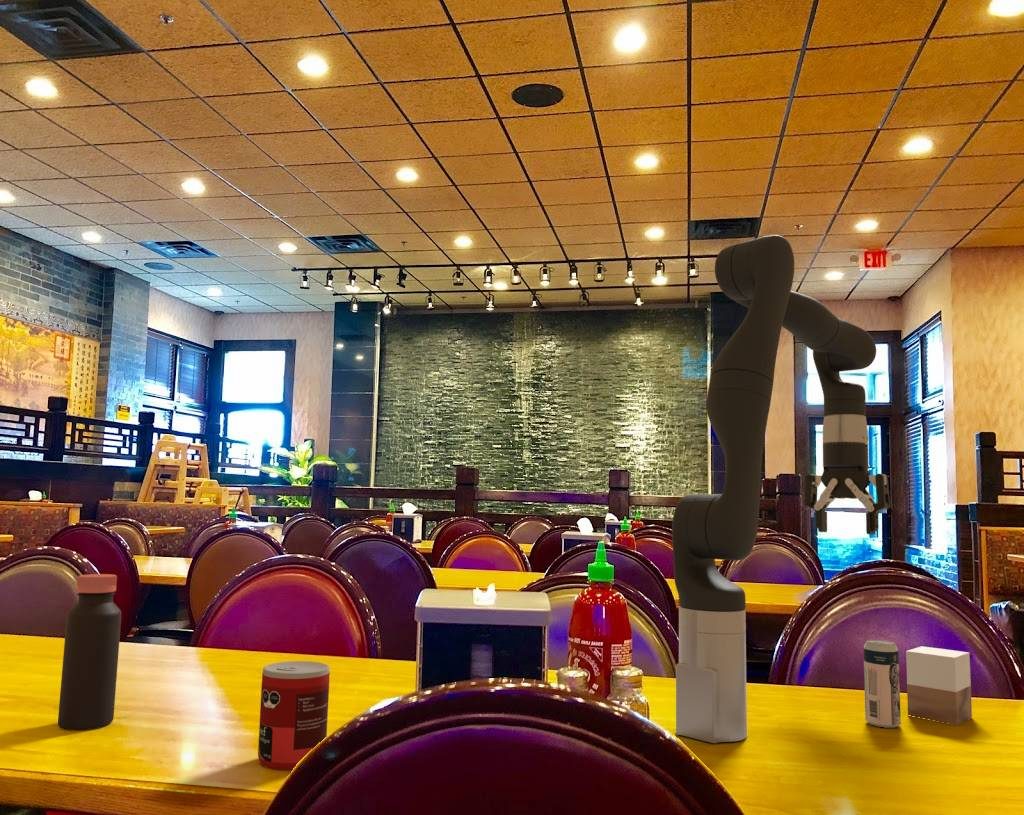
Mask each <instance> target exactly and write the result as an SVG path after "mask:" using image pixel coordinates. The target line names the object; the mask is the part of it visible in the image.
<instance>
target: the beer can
mask: <svg viewBox="0 0 1024 815" xmlns="http://www.w3.org/2000/svg"><path fill="white" fill-rule="evenodd" d="M899 652H900V651H899V648H898V646H897V644H896V643H895V642H894V641H891V640H884V639H868V640H866V641H865V643H864V645H863V674H864V675H863V680H864V681H863V682H864V718H865V721H866V722H867V723H868V724H870V725H871V726H873V725H874V726H873V727H876V726H877V728H880V727H884V728H883V729H895V728H897V727H898V726H900V725H901V724H902V723H901V722H902V720H901V719H902V718H901V717H902V716H901V694H900V693H901V690H900V688H901V687H900V686H901V685H900V684H901V683H900V658H899V656H900V655H899Z"/></svg>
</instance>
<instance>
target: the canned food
mask: <svg viewBox="0 0 1024 815" xmlns="http://www.w3.org/2000/svg"><path fill="white" fill-rule="evenodd" d="M262 669H263V670H262V673H261V674H262V676H261V688H260V689H261V690H260V706H259V707H260V708H259V709H260V710H259V726H258V730H259V731H258V745H257V746H258V748H257V749H258V751H257V758H258V762H259V764H260V766H262V767H264V768H267V769H269V768H270V770H276V771H293V770H292V769H293V768H294V767H295V766H296V764H297V763H298V762H299V761H300V760H301V759H302V758H303V757H304V756H305V755H306V754H307V753H308V752H309V751H310V750H311V749H313V748H314V747H315V746H316V745H317V744H318V743H319V742H321V741H322V740H323V739H324V738H325V737H327V736H328V735H327V733H328V717H329V716H328V715H329V713H328V712H329V696H330V674H331V673H330V665H328V664H327V663H323V662H319V661H318V662H317V661H310V660H309V661H308V660H307V661H306V660H289V661H281V662H280V661H279V662H275V663H274V662H273V663H270V664H267V665H265V666H263V668H262Z"/></svg>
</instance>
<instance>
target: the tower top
mask: <svg viewBox="0 0 1024 815" xmlns="http://www.w3.org/2000/svg"><path fill="white" fill-rule="evenodd" d="M905 658H906V659H905V661H906V685H907V684H910V685H916V686H922V687H928V688H934V689H940V690H946V691H952V692H958V691H960V690H962V689H964V688H966V687H969V686H971V687H972V685H971V681H972V680H971V661H970V658H971V657H970V652H968V651H967V652H966V651H961V650H953V649H947V648H946V649H945V648H939V647H938V648H937V647H929V646H925V645H923V646H922V645H921V646H918V647H915V648H912V649H909V650H906V651H905Z"/></svg>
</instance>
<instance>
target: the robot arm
mask: <svg viewBox="0 0 1024 815" xmlns="http://www.w3.org/2000/svg"><path fill="white" fill-rule="evenodd" d="M714 274H715V275H714V276H715V279H716V282H717V284H718V287H719V288H720V290H721V292H722V293H723V294H724V295H725V296H727V298H729V299H730V300H732V301H734V302H736V303H738V304H740V305H742V306H743V307H745V308H748V311H747V313H746V316H744V319H743V320H742V322H741V323H740V325H739V326H738V328H737V329H736V331H735V332H734V333H733V334H732V335H731V337H730V338H729V340H728V341H727V342H726V344H725V345H724V346H723V348H722V349H721V350H720V352H719V354H718V355H717V357H716V359H715V360H714V361H713V362H714V363H713V365H712V368H711V371H710V372H711V373H710V379H709V382H708V383H709V384H708V388H707V389H708V390H707V396H706V402H705V407H706V408H705V409H706V413H707V417H708V420H709V423H710V424H711V425H710V426H711V427H712V430H713V432H714V434H715V436H716V439H717V440H718V443H719V445H720V447H721V449H722V452H723V455H724V460H725V474H724V485H723V490H722V493H715V494H714V493H695V494H687V495H684V496H682V498H680V500H679V501H678V502H677V504H676V506H675V508H674V510H673V511H674V512H673V517H672V524H671V537H672V539H671V540H672V541H671V542H672V557H673V558H672V559H673V576H674V585H675V588H676V591H677V595H678V663H677V664H676V666H675V734H676V735H680V736H683V737H687V738H691V739H695V740H699V741H702V742H707V743H710V744H717V743H727V742H728V743H730V742H738V741H742V740H745V739H746V738H747V736H748V716H747V715H748V714H747V712H748V710H747V709H748V706H747V702H748V701H747V700H748V699H747V644H746V642H747V639H746V638H747V635H746V633H747V632H746V631H747V622H746V621H747V620H746V619H747V618H746V616H747V615H746V608H747V606H746V605H747V603H746V602H747V601H746V600H747V599H746V593H745V590H744V589H743V588H742V587H741V586H739V585H738V584H736V583H734V582H732V581H731V580H729V579H727V578H726V577H724V576H723V574H722V573H721V572H720V571H719V570H718V568H717V565H716V564H717V563H716V560H722V561H741V560H742V561H743V560H744V559H747V557H749V556H750V554H751V553H752V551H753V549H754V546H755V544H756V540H757V537H758V536H757V535H758V531H759V529H758V528H759V520H760V498H761V484H762V482H761V479H762V465H763V464H762V463H763V455H764V446H765V438H766V431H767V425H768V420H769V415H770V414H769V413H770V408H771V402H772V395H773V389H774V388H773V387H774V380H775V369H776V361H777V356H778V348H779V342H780V338H781V332H782V328H784V329H785V330H786V331H788V332H789V333H790V334H792V335H793V337H796V339H797V340H798V341H800V342H801V343H802V344H804V346H805V347H807V348H808V349H810V350H811V351H812V358H813V363H814V365H815V368H816V371H817V374H818V378H819V382H820V386H821V390H822V394H823V423H822V468H823V470H822V471H823V473H822V474H821V475H816V474H813V473H811V474H810V473H807V474H806V475H805V483H804V485H805V486H804V487H805V488H804V506H805V507H807V508H810V509H813V510H814V516H815V517H814V518H815V519H814V520H815V521H814V522H815V525H814V526H815V528H816V530H817V531H818V532H819V533H827V532H828V511H826V510H827V508H828V507H829V506H830V504H832V502H834V501H835V499H839V500H840V499H842V500H844V499H853V500H856V499H857V500H858V501H859V502H860V503H862V505H863V506H864V508H865V509H866V510H867V512H865V524H866V526H865V527H866V528H865V533H866V534H867V535H875V534H876V532H878V530H879V513H880V512H881V511H884V510H888V509H890V507H891V503H890V502H891V500H890V489H889V476H888V475H886V474H884V473H877V474H873V475H872V474H870V473H869V431H868V422H867V413H866V412H867V406H866V405H867V404H866V403H867V402H866V401H867V400H866V389H865V387H864V386H862V385H861V384H859V383H855V382H845V381H843V380H842V378H841V375H840V372H848V371H858V370H864V369H866V368H868V367H870V366H871V365H872V364H873V362H874V361H875V359H876V356H877V346H876V343H875V341H874V339H873V337H872V336H871V335H870V334H869V332H868V331H867V330H865V329H863V327H860V326H858V325H856V324H853V323H851V322H849V321H846V320H845V319H842V318H839V317H838V316H836V315H835V314H834V313H833V312H832V311H831V310H830V309H829V308H828V307H826V306H825V305H824V304H823V302H820V301H819V300H817V299H815V298H813V297H811V296H808V295H806V294H803V293H800V292H796V291H794V290H792V287H793V283H794V275H795V255H794V250H793V247H792V245H791V243H790V242H789V240H788V239H787V238H786V237H784V236H782V235H779V234H770V235H764V236H761V237H757V238H752V239H748V240H745V241H740V242H737V243H734V244H730V245H727V246H725V248H722V249H721V250H720V252H718V254H717V256H716V258H715V262H714ZM821 483H822V484H823V486H824V487H825V489H823V492H821V494H820V496H819V499H818V487H820V485H821ZM870 483H872V485H873V486H874V487H875V490H876V491H875V492H876V500H877V502H875V500H874V498H873V496H872V495H871V494H870V492H869V491H868V490H867V488H868V486H869V485H870Z"/></svg>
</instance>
